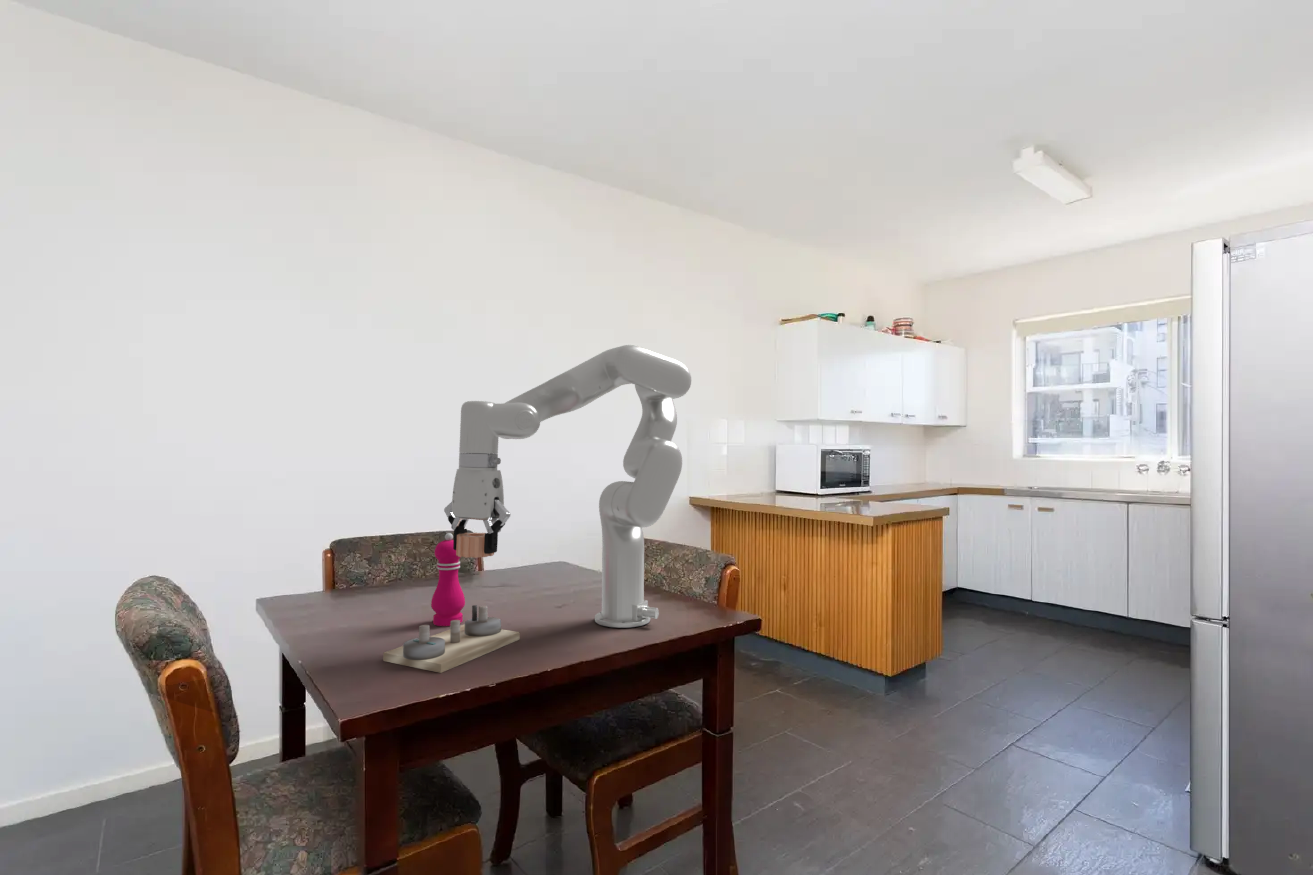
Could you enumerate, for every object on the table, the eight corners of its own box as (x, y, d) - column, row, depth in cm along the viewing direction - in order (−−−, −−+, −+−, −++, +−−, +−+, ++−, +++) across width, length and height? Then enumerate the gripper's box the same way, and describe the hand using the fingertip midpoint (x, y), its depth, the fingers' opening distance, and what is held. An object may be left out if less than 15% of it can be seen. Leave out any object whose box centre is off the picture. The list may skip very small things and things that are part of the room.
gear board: (521, 638, 134) (521, 606, 135) (438, 674, 114) (439, 636, 114) (468, 629, 141) (468, 599, 141) (380, 661, 120) (381, 626, 120)
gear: (501, 554, 133) (502, 534, 133) (476, 558, 126) (477, 538, 127) (473, 550, 136) (474, 531, 136) (448, 555, 130) (449, 535, 130)
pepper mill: (454, 628, 142) (455, 535, 142) (424, 626, 143) (425, 534, 144) (470, 619, 149) (471, 531, 149) (441, 617, 150) (442, 530, 151)
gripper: (524, 464, 131) (521, 552, 131) (458, 461, 139) (455, 545, 139) (500, 464, 125) (496, 557, 124) (432, 461, 132) (428, 549, 132)
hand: (475, 550), depth 131 cm, fingers closed on gear, 7 cm apart
